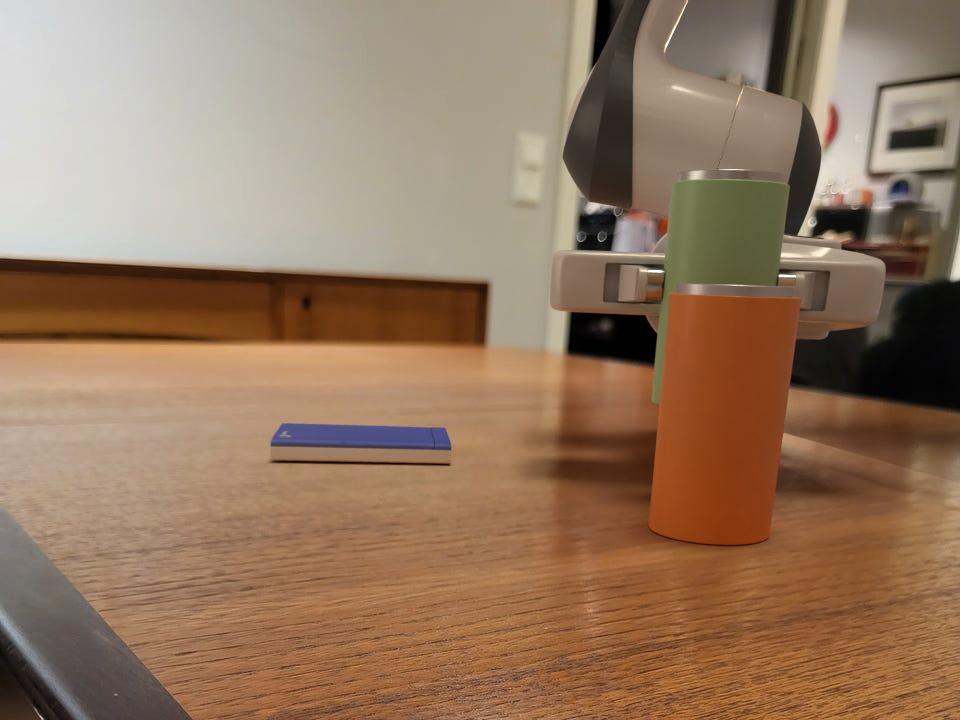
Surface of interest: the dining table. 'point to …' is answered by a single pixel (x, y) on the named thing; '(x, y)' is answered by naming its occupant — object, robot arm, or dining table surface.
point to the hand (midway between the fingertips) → (720, 287)
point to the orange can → (722, 411)
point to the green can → (721, 236)
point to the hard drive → (360, 443)
